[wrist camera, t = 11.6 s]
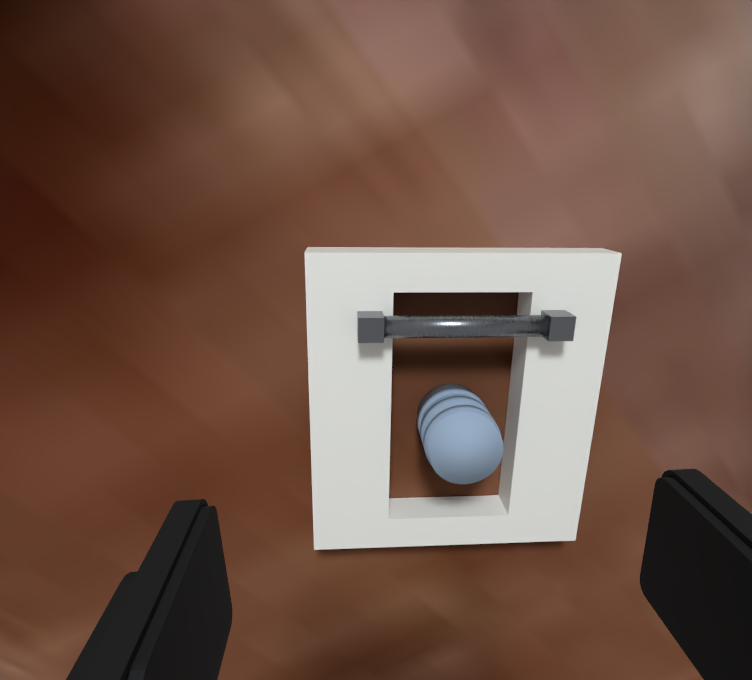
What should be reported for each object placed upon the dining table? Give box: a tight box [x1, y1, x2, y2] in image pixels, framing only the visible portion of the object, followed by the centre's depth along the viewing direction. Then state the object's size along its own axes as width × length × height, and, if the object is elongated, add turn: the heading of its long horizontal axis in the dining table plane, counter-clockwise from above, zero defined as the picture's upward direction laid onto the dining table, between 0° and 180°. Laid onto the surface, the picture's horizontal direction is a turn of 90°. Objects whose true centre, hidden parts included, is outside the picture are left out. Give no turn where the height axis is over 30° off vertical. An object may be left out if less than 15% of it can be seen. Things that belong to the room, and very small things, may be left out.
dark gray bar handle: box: [357, 310, 576, 343], centre depth 32 cm, size 14×2×2 cm, turn 89°
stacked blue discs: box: [417, 384, 504, 484], centre depth 35 cm, size 5×5×6 cm
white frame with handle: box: [305, 247, 622, 550], centre depth 36 cm, size 20×22×2 cm
